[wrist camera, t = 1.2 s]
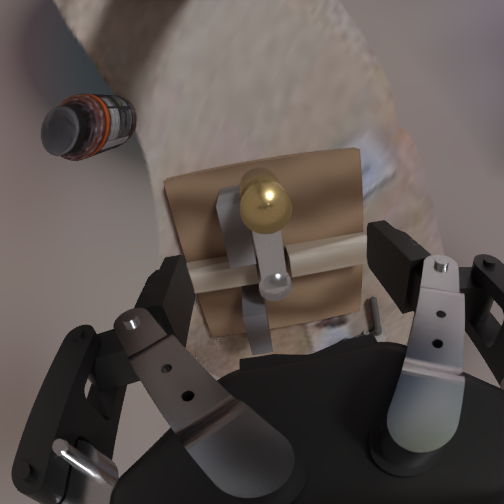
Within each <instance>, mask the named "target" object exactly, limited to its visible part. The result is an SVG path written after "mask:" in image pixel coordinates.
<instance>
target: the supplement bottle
mask: <svg viewBox="0 0 504 504" xmlns="http://www.w3.org/2000/svg"><path fill="white" fill-rule="evenodd" d="M135 126H136V112H135V109H134V107H133V106H132V104H131V103H130V102H129V101H128V100H126V99H125V98H122V97H119V96H112V95H98V94H78V95H74V96H71V97H69V98H68V99H66V100H65V101H63V102H62V103H61V104H60V105H59V106H58V107H56V108H54V109H52V110H51V111H50V112H49V113H48V114H47V115H46V117H45V119H44V121H43V123H42V127H41V140H42V144H43V146H44V148H45V149H46V150H47V151H48V152H49V153H50V154H52V155H56V156H61V157H63V158H65V159H68V160H72V161H78V160H82V159H86V158H88V157H91V156H94V155H96V154H99V153H102V152H104V151H107V150H110V149H113V148H116V147H118V146H120V145H122V144H123V143H125V142H126V141H127V140H128V139H129V138H130V137H131V135H132V134H133V132H134V130H135Z"/></svg>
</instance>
